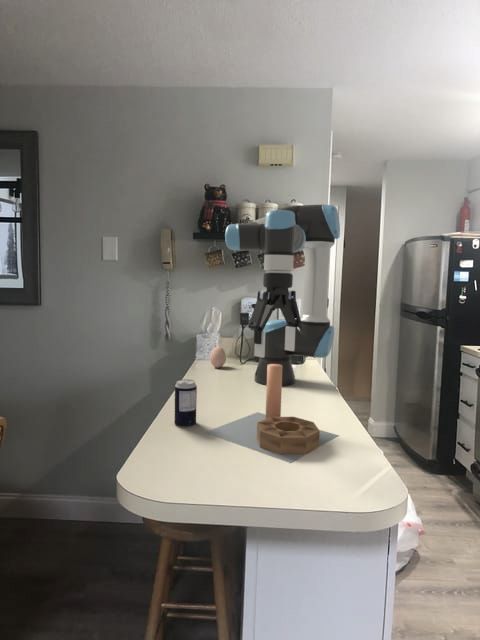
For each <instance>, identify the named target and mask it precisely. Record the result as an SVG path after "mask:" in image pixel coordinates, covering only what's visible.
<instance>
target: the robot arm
mask: <svg viewBox="0 0 480 640" xmlns="http://www.w3.org/2000/svg"><path fill="white" fill-rule="evenodd" d="M340 235H341V224H340V217H339V212H338V209H337V207H336V206H335V205H332V204H323V203H322V204H308V205H307V204H306V205H305V204H303V205H298V204H297V205H295V204H293V205H288V206H286V207H281V208H279V209H276V210H270V211H267V212H266V215H265V216H264V217H261V218H258V219H256V220H252V221H250V222H246V223H239V222H238V223H231V224H229V225H228V226H227V227H226V229H225V233H224V238H225V240H224V241H225V244H226V245H225V246H226V247H227V249H228V250H230V251H237V252H240V251H261V252H262V251H264V261H263V262H264V263H263V270H264V271H266V272H264V273H263V277H262V280H263V281H262V282H263V283H262V284H263V287H265V288H266V291H265V290H259V291H257V295H256V302H255V305H254V307H253V312H252V314H251V316H250V320H249V323H248V329H250V331H253V332H254V333H253V342H254V351H253V353H254V354H253V356H254V357H258V358H259V361H258V364H257V366H256V370H255V373H254V381H255V382H256V383H258V384H261V385H265V386H267V365H268V364H280V365H282V387H283V386H290V385H293V384H295V383H296V382H295V381H296V380H295V379H296V376H295V375H296V374H295V371H294V368H293V364H292V356H296V357H297V356H298V357H306V358H307V357H308V358H309V357H311V358H314V359H317V358H318V359H321V358H323V359H324V358H327V357H328V356H329V355H330V353H331V350H332V347H333V342H334V337H335V326H333V325H331V320H330V318H328V317H327V308H328V291H329V270H330V254H331V248H332V247H334V245H335V241H336V240H338V239H339V238H340ZM303 247H304V248H305V249H304V250H305V252H304V270H303V271H304V272H303V273H304V274H303V288H302V289H303V292H302V293H303V294H302V313H301V316H300V311H299V307H298V302H297V297H296V292H297V291H295V290H289V289H290V288H292V287H293V276H294V275H293V273H292V272H293V271H294V258H295V257H294V254H295V253H294V252H297V251H300V250H301V249H302V248H303ZM276 309H279V310H280V311H281V314H282V315H283V318H284V319H283V318H281V319H271V320H269V319H270V318H271V316H272V314H273V312H274V311H276Z"/></svg>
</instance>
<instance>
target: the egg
mask: <svg viewBox="0 0 480 640" xmlns="http://www.w3.org/2000/svg"><path fill="white" fill-rule="evenodd" d="M209 360H210V364H211V365H212V366H213V367H214V368H216V369H219V368H221V367H223V366H224V365H225V363H226V360H227V354H226V352H225V350H224V348H222V346H220V345H217V346H215V347H214V348H213V349H211V352H210V356H209Z"/></svg>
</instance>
